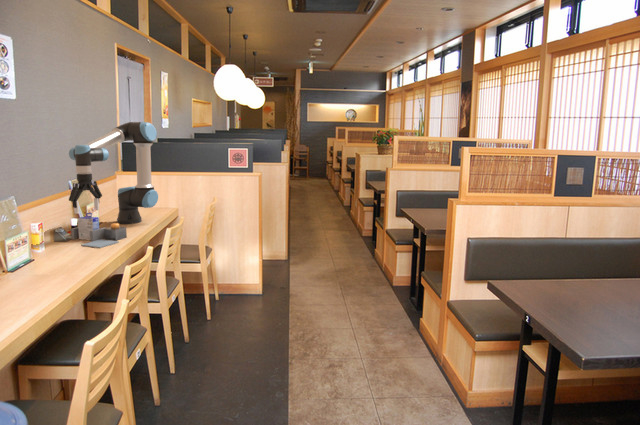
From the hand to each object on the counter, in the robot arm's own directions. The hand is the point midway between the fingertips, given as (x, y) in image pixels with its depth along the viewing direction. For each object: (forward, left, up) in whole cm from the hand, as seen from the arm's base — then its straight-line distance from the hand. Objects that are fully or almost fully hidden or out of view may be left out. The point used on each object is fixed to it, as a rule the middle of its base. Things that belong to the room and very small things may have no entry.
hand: (87, 211), depth 260 cm
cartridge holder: (0, 0, -16) cm, 16 cm away
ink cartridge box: (0, 0, -16) cm, 16 cm away
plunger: (-6, +13, -14) cm, 20 cm away
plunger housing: (-6, +13, -16) cm, 21 cm away
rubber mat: (+7, +15, -16) cm, 23 cm away
